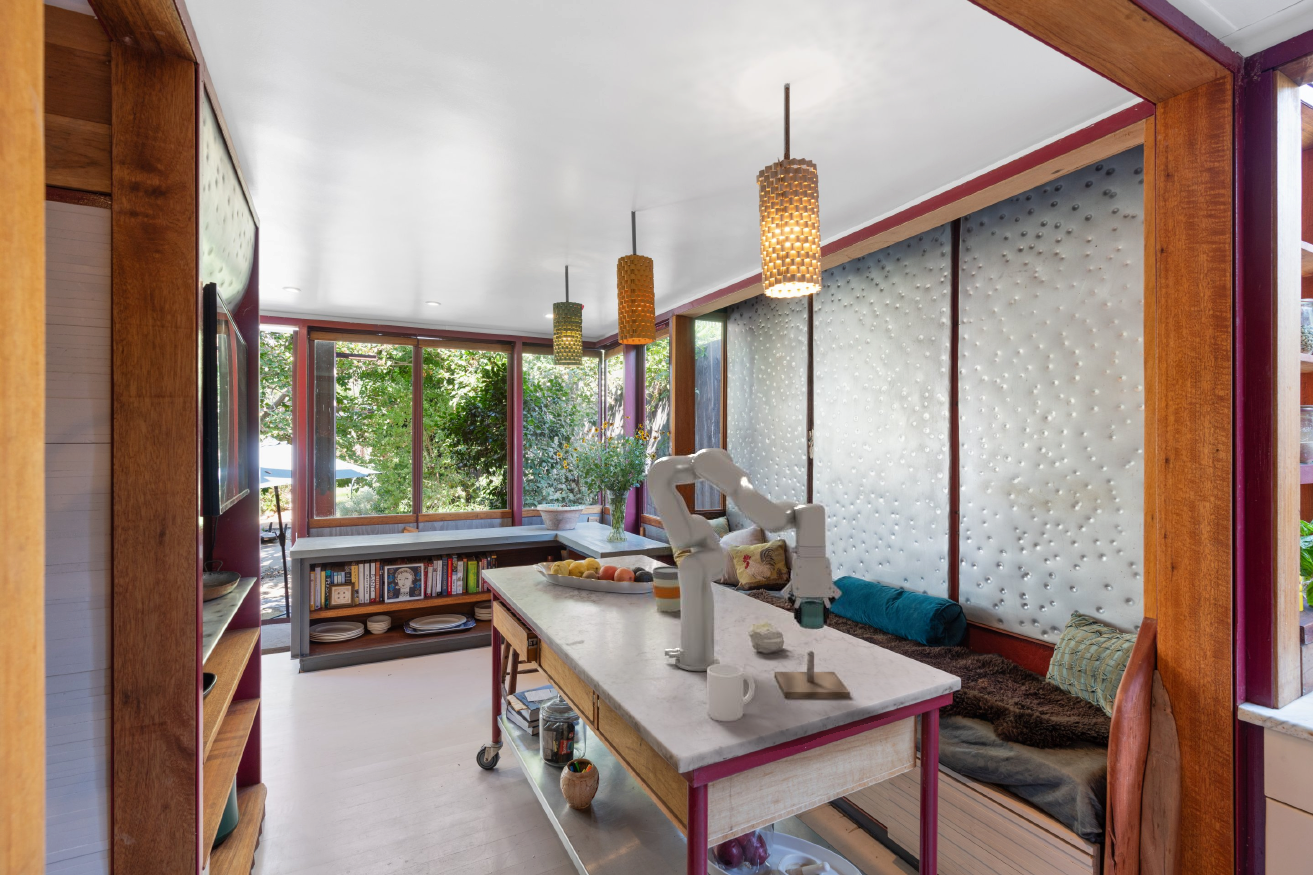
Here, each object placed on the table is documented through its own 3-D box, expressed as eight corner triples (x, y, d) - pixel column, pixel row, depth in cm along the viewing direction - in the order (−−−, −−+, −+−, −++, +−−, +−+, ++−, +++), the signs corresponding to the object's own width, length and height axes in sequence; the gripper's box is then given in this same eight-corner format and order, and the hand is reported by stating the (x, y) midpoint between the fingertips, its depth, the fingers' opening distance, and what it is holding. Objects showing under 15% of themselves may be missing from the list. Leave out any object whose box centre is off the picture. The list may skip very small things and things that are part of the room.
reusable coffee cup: (691, 607, 243) (691, 568, 243) (674, 614, 232) (674, 573, 233) (663, 603, 250) (663, 564, 250) (645, 610, 239) (645, 570, 239)
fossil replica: (790, 649, 194) (760, 646, 199) (789, 621, 195) (758, 619, 200) (776, 657, 184) (744, 654, 189) (775, 627, 185) (743, 625, 190)
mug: (745, 702, 153) (745, 659, 153) (764, 716, 146) (764, 671, 146) (701, 710, 149) (701, 666, 149) (717, 724, 141) (717, 678, 141)
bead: (802, 629, 160) (802, 605, 160) (797, 622, 166) (797, 599, 166) (826, 628, 160) (826, 605, 160) (820, 622, 166) (819, 599, 166)
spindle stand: (784, 697, 156) (784, 659, 156) (774, 677, 170) (774, 641, 170) (849, 698, 156) (849, 659, 156) (834, 677, 170) (834, 642, 170)
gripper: (779, 554, 160) (780, 626, 159) (848, 554, 160) (849, 626, 159) (774, 549, 167) (775, 618, 167) (839, 549, 167) (840, 618, 167)
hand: (811, 621), depth 163 cm, fingers closed on bead, 6 cm apart
